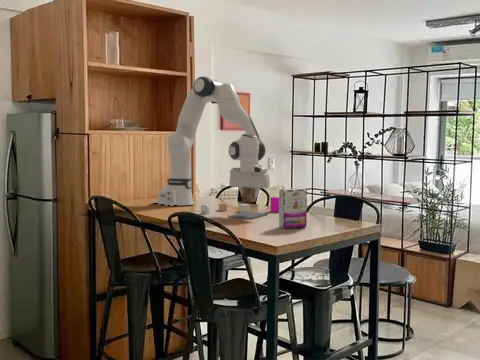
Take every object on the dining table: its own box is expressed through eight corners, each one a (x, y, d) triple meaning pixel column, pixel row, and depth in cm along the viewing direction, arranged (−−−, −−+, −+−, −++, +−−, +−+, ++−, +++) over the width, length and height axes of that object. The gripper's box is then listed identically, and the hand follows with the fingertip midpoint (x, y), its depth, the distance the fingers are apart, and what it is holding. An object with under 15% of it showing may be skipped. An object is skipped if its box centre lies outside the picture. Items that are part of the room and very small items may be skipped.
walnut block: (242, 201, 259) (242, 189, 259) (246, 200, 263) (246, 188, 263) (251, 202, 257) (251, 189, 256) (256, 201, 261) (256, 188, 261)
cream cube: (238, 212, 274) (238, 204, 274) (243, 211, 277) (243, 204, 276) (244, 213, 271) (244, 205, 271) (249, 212, 274) (249, 204, 274)
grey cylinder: (199, 215, 263) (199, 205, 263) (203, 214, 266) (203, 204, 266) (206, 215, 261) (206, 205, 261) (210, 214, 265) (210, 204, 264)
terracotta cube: (218, 211, 275) (219, 204, 275) (219, 210, 279) (219, 203, 279) (226, 212, 275) (226, 204, 275) (227, 210, 279) (227, 203, 279)
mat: (228, 217, 255) (228, 216, 255) (245, 213, 271) (245, 211, 271) (250, 220, 250) (250, 218, 250) (267, 215, 266) (267, 213, 266)
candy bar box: (300, 225, 236) (301, 188, 235) (306, 227, 231) (307, 189, 230) (277, 227, 232) (278, 188, 230) (283, 229, 227) (284, 190, 226)
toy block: (278, 213, 274) (278, 198, 274) (270, 211, 279) (270, 197, 279) (300, 210, 283) (300, 196, 282) (292, 209, 288) (292, 195, 288)
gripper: (226, 167, 261) (226, 196, 262) (265, 169, 251) (265, 198, 252) (233, 167, 266) (233, 195, 268) (271, 168, 257) (271, 197, 258)
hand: (249, 196), depth 260 cm, fingers closed on walnut block, 5 cm apart
